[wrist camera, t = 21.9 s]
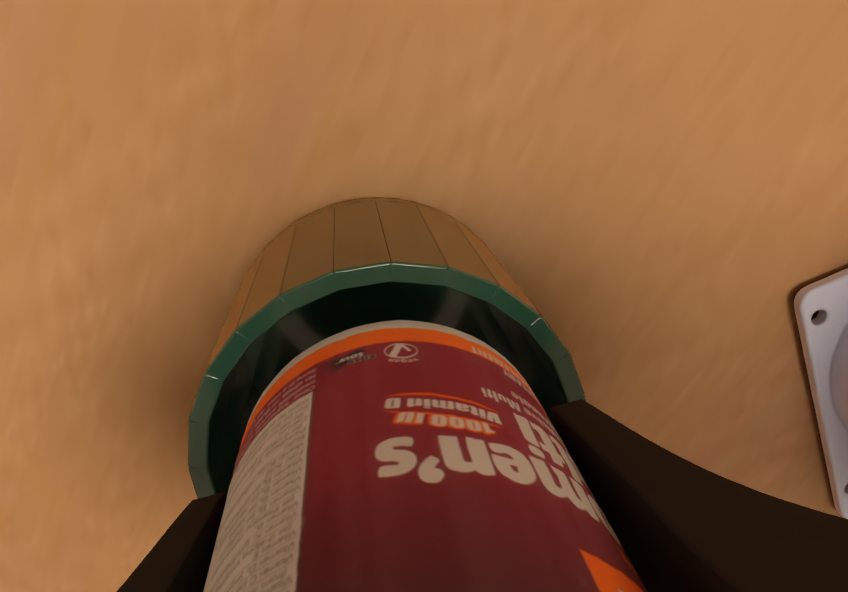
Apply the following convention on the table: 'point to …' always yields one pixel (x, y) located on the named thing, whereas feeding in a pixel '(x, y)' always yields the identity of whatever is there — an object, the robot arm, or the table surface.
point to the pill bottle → (409, 477)
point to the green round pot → (362, 312)
